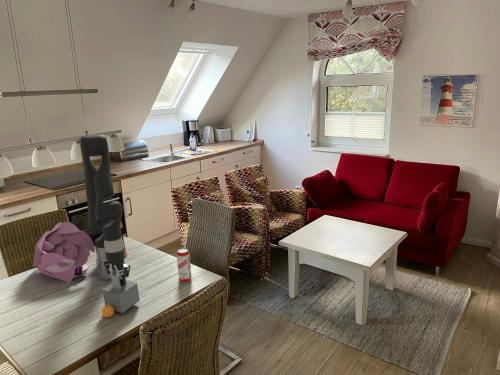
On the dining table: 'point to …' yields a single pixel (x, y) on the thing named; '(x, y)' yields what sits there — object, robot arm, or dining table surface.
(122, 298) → the grey stepped block
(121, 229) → the whiskey bottle
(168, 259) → the dining table surface
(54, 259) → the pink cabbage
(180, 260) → the beer can
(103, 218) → the robot arm
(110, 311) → the ball
